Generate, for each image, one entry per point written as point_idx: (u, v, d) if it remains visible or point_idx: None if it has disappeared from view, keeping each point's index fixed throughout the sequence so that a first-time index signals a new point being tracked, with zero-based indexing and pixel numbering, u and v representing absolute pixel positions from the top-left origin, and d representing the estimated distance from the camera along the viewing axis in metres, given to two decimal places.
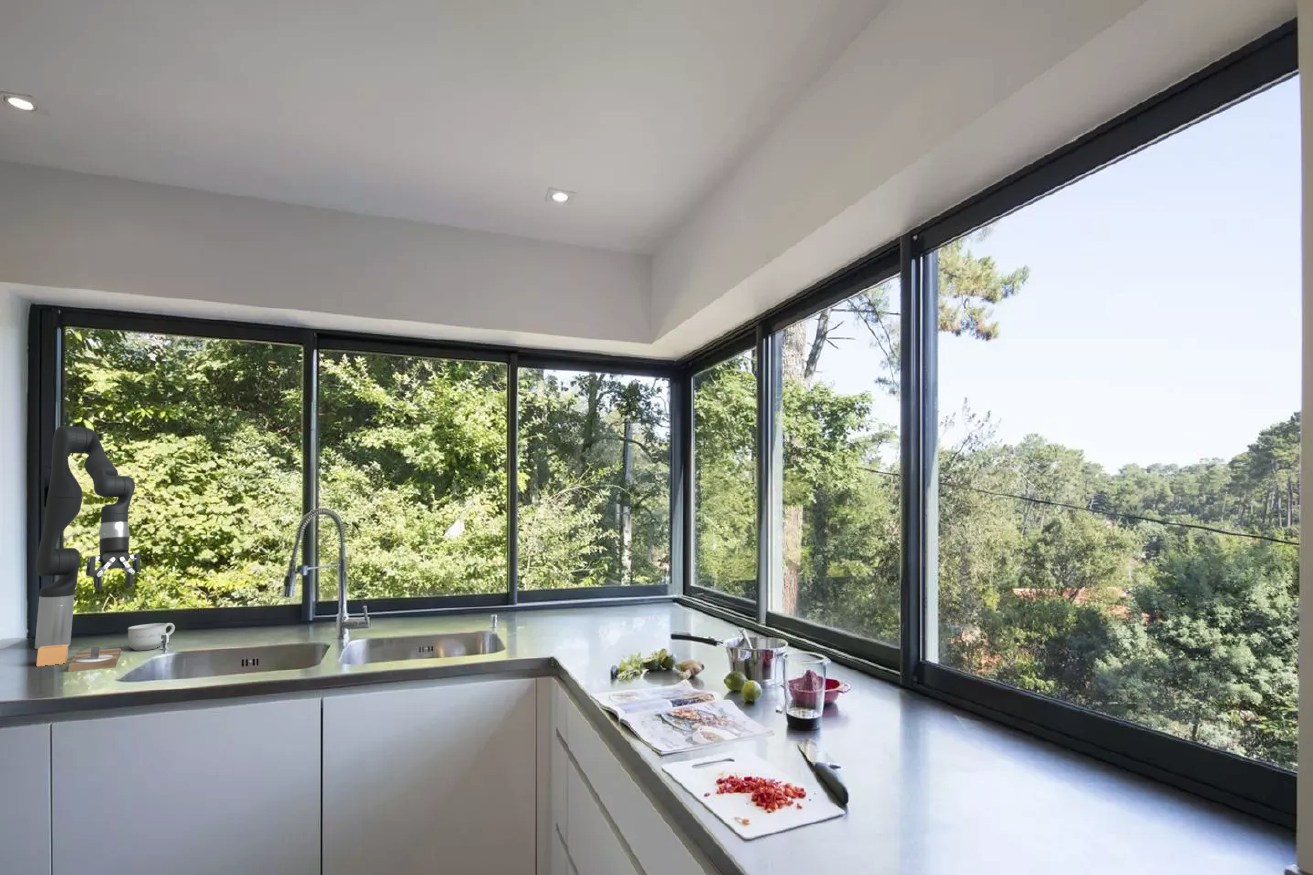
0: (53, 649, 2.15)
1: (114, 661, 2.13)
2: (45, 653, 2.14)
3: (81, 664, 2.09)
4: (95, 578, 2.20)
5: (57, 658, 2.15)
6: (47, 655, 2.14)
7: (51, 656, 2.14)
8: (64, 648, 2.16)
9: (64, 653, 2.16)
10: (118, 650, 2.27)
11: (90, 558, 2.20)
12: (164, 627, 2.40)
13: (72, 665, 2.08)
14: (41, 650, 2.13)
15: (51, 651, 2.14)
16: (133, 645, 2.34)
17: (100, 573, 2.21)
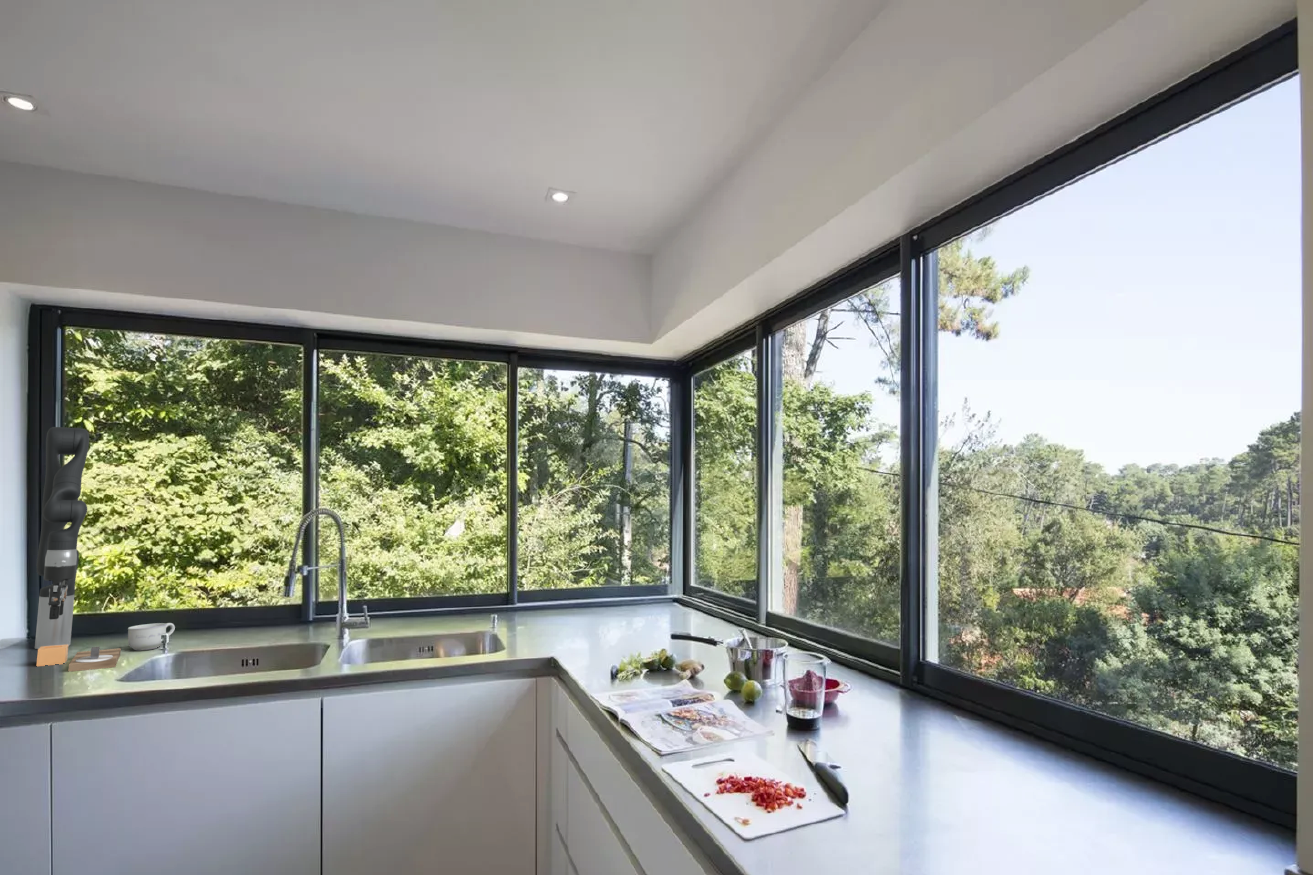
0: (53, 649, 2.15)
1: (114, 661, 2.13)
2: (45, 653, 2.14)
3: (81, 664, 2.09)
4: (55, 608, 2.14)
5: (57, 658, 2.15)
6: (47, 655, 2.14)
7: (51, 656, 2.14)
8: (64, 648, 2.16)
9: (64, 653, 2.16)
10: (118, 650, 2.27)
11: (58, 587, 2.13)
12: (164, 627, 2.40)
13: (72, 665, 2.08)
14: (41, 650, 2.13)
15: (51, 651, 2.14)
16: (133, 645, 2.34)
17: (60, 602, 2.15)
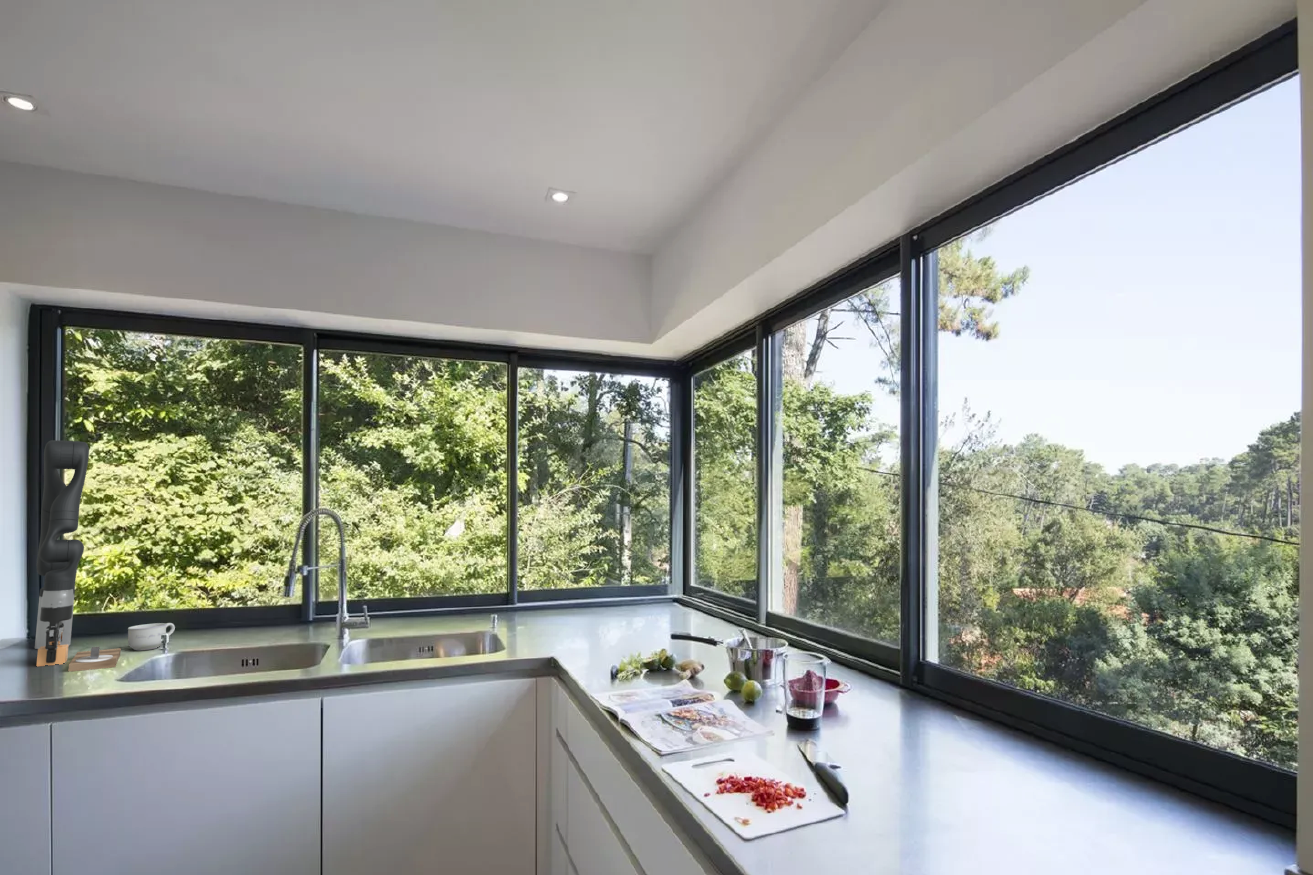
0: None
1: (114, 661, 2.13)
2: (45, 653, 2.14)
3: (81, 664, 2.09)
4: (52, 651, 2.14)
5: (57, 658, 2.15)
6: None
7: None
8: (64, 648, 2.16)
9: (64, 653, 2.16)
10: (118, 650, 2.27)
11: (54, 632, 2.12)
12: (164, 627, 2.40)
13: (72, 665, 2.08)
14: (41, 650, 2.13)
15: None
16: (133, 645, 2.34)
17: (57, 645, 2.15)
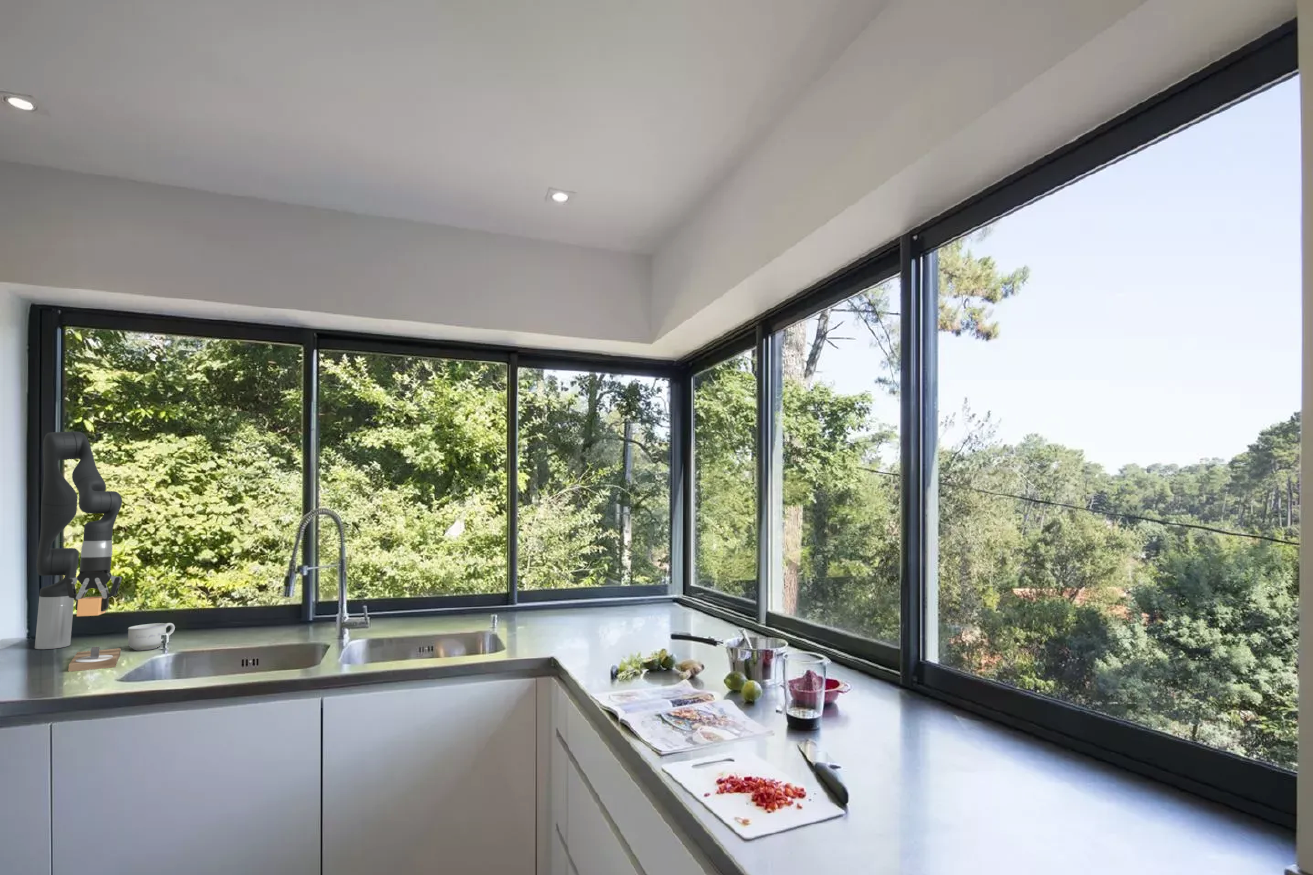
0: None
1: (114, 661, 2.13)
2: (100, 602, 2.16)
3: (81, 664, 2.09)
4: (108, 599, 2.18)
5: None
6: None
7: None
8: None
9: None
10: (118, 650, 2.27)
11: (121, 579, 2.20)
12: (164, 627, 2.40)
13: (72, 665, 2.08)
14: (99, 599, 2.15)
15: None
16: (133, 645, 2.34)
17: None
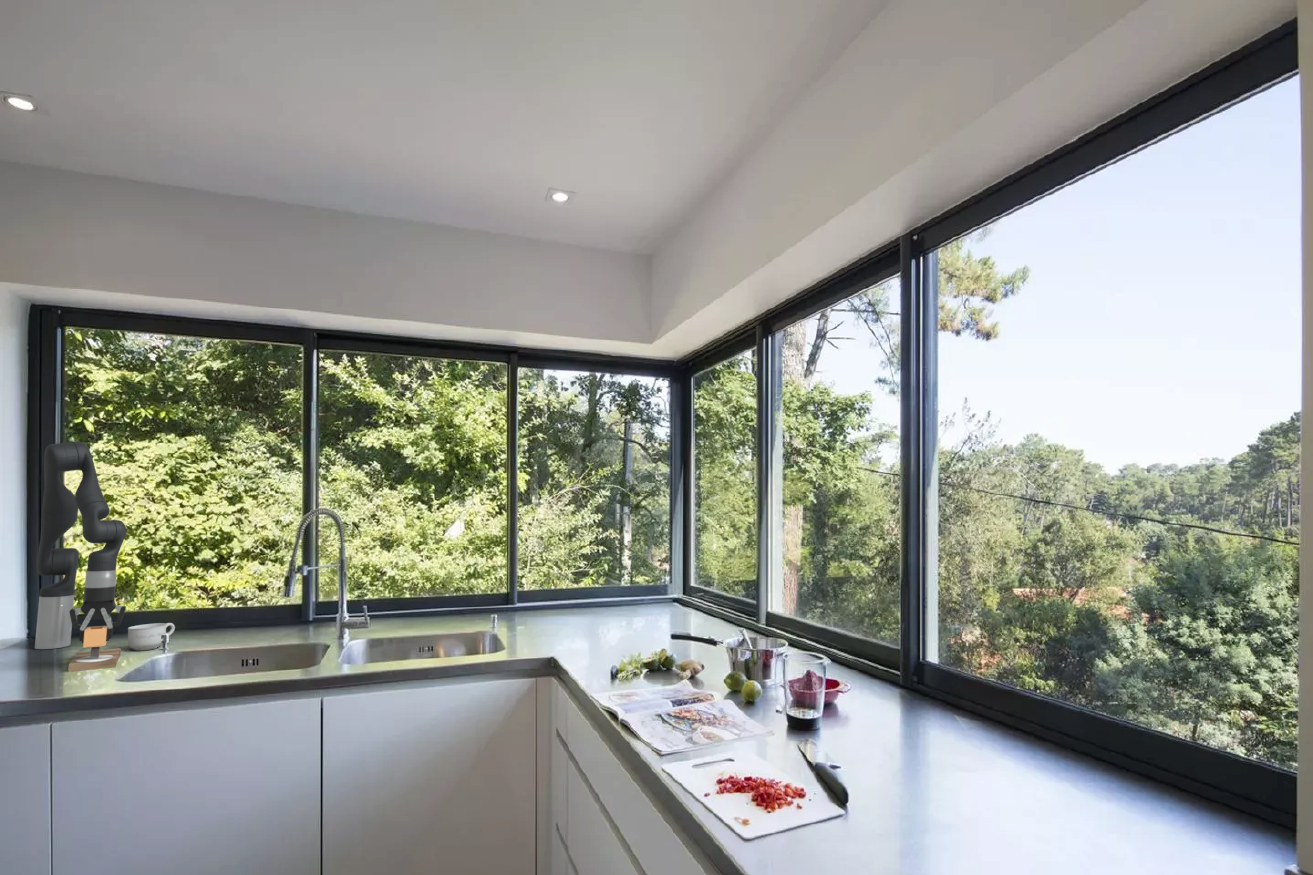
0: None
1: (114, 661, 2.13)
2: (106, 632, 2.15)
3: (81, 664, 2.09)
4: (112, 629, 2.17)
5: None
6: (106, 634, 2.15)
7: (106, 635, 2.16)
8: None
9: None
10: (118, 650, 2.27)
11: (125, 608, 2.20)
12: (164, 627, 2.40)
13: (72, 665, 2.08)
14: (106, 629, 2.14)
15: None
16: (133, 645, 2.34)
17: None
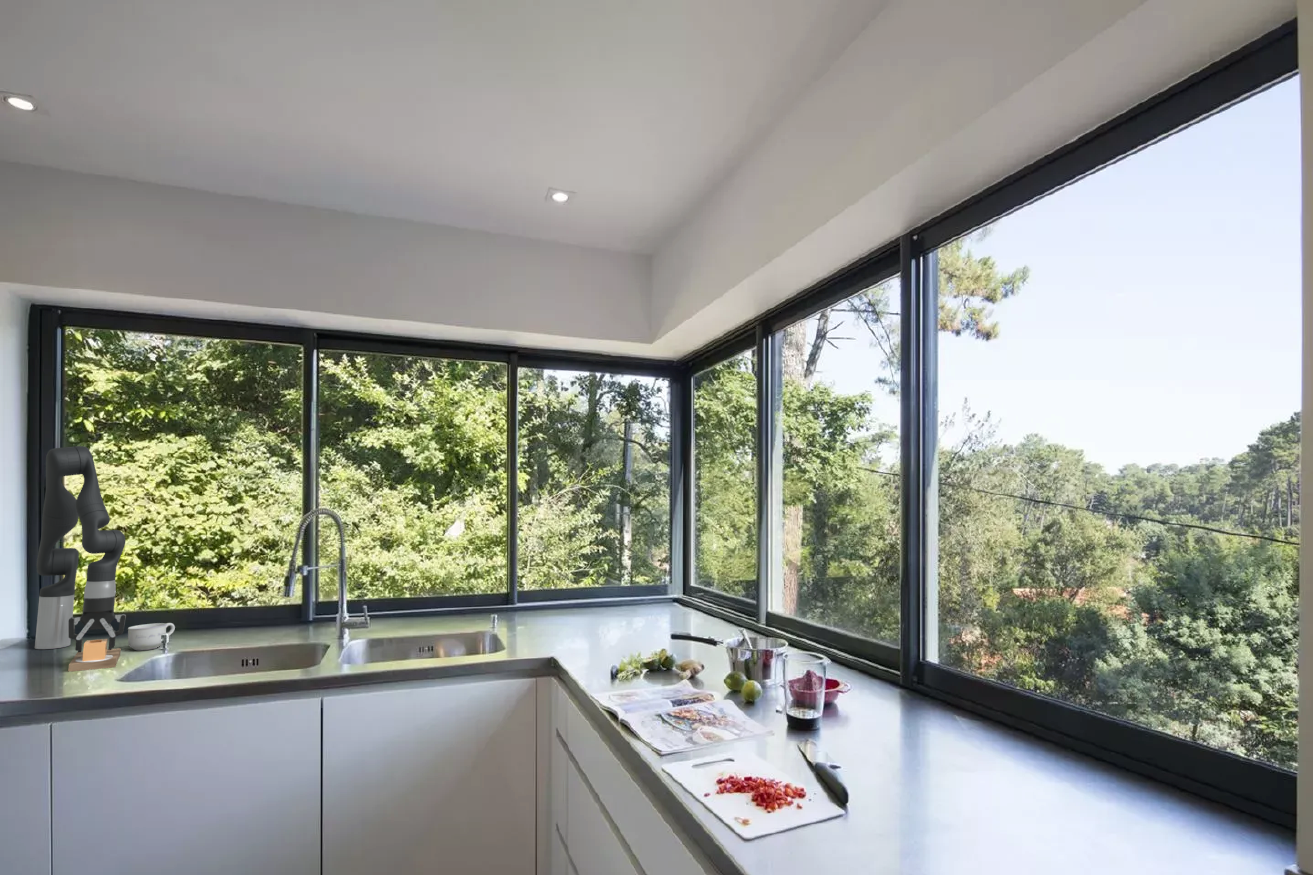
0: (106, 641, 2.16)
1: (114, 661, 2.13)
2: (105, 646, 2.15)
3: (81, 664, 2.09)
4: None
5: (106, 650, 2.17)
6: (105, 647, 2.15)
7: None
8: (107, 640, 2.19)
9: None
10: (118, 650, 2.27)
11: (125, 616, 2.20)
12: (164, 627, 2.40)
13: (72, 665, 2.08)
14: (105, 643, 2.14)
15: (106, 643, 2.16)
16: (133, 645, 2.34)
17: None
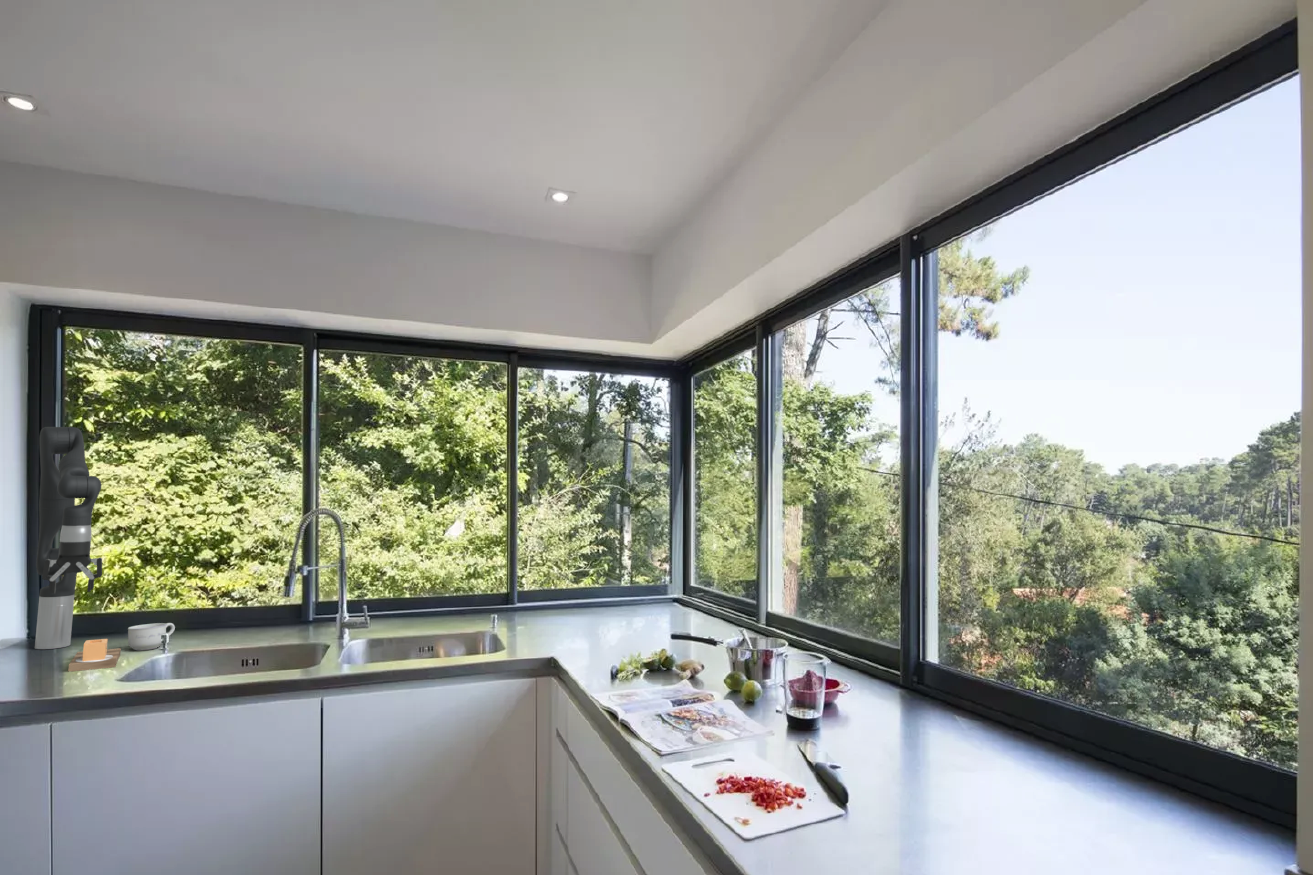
0: (106, 641, 2.16)
1: (114, 661, 2.13)
2: (105, 646, 2.15)
3: (81, 664, 2.09)
4: None
5: (106, 650, 2.17)
6: (105, 647, 2.15)
7: None
8: (107, 640, 2.19)
9: None
10: (118, 650, 2.27)
11: (101, 559, 2.23)
12: (164, 627, 2.40)
13: (72, 665, 2.08)
14: (105, 643, 2.14)
15: (106, 643, 2.16)
16: (133, 645, 2.34)
17: None
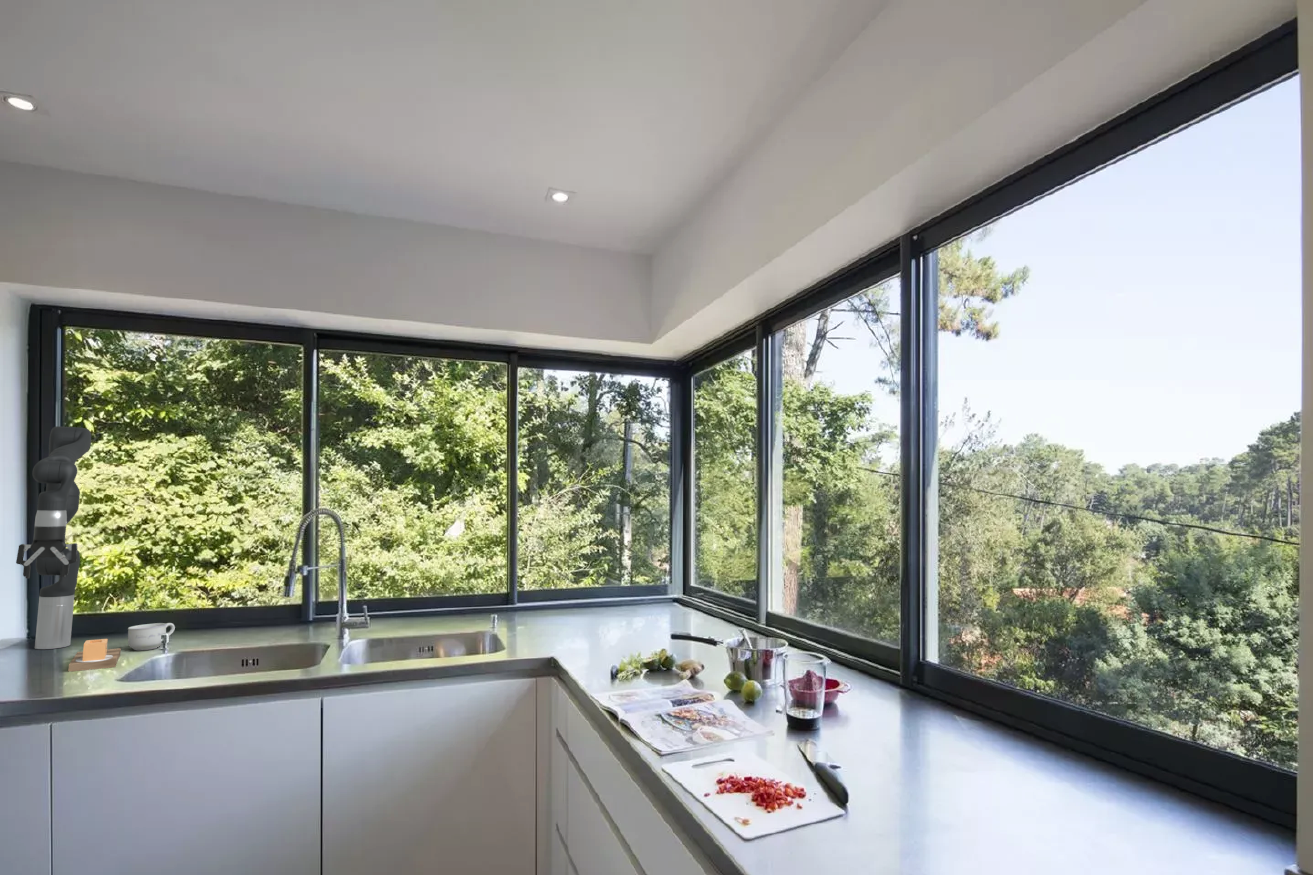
0: (106, 641, 2.16)
1: (114, 661, 2.13)
2: (105, 646, 2.15)
3: (81, 664, 2.09)
4: (68, 565, 2.22)
5: (106, 650, 2.17)
6: (105, 647, 2.15)
7: None
8: (107, 640, 2.19)
9: None
10: (118, 650, 2.27)
11: None
12: (164, 627, 2.40)
13: (72, 665, 2.08)
14: (105, 643, 2.14)
15: (106, 643, 2.16)
16: (133, 645, 2.34)
17: None
